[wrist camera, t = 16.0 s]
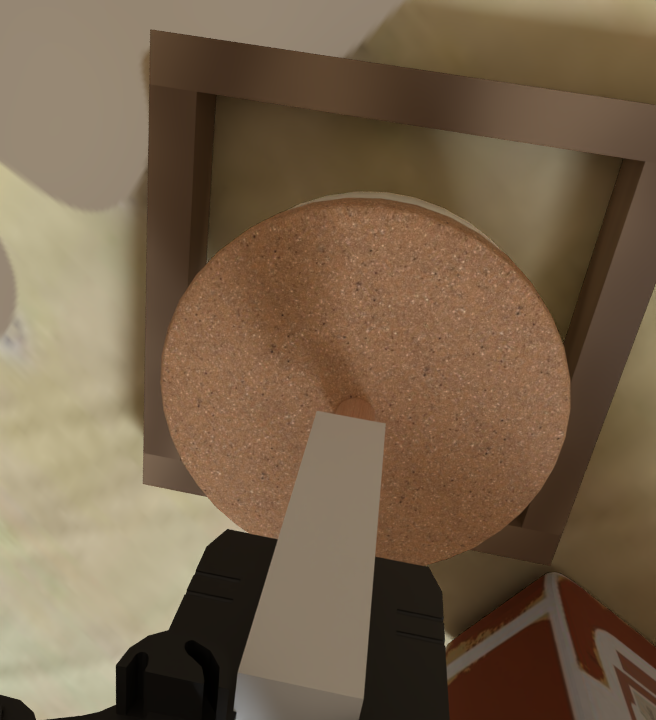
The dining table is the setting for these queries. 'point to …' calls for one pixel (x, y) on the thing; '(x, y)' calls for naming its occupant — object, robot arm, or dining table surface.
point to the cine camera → (551, 660)
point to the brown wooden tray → (419, 108)
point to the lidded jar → (369, 369)
